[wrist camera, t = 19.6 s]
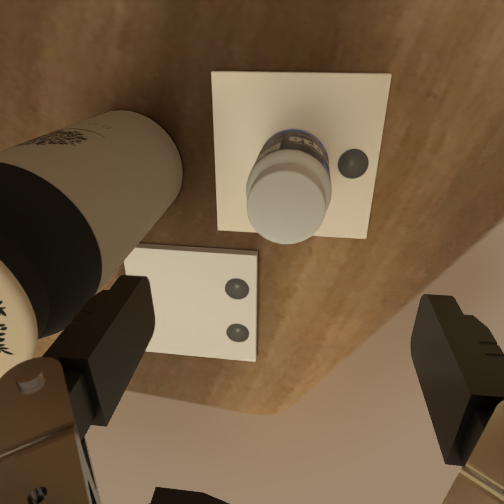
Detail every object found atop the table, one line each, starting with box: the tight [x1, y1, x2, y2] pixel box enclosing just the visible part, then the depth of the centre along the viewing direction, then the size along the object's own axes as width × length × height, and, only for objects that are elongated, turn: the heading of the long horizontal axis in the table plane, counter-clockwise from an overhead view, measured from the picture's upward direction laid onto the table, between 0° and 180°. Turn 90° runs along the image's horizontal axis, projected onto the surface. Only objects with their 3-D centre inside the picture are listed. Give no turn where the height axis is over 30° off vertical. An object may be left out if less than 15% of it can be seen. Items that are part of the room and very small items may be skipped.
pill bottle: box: [246, 128, 332, 244], centre depth 23 cm, size 5×5×8 cm
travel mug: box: [0, 110, 183, 378], centre depth 22 cm, size 8×8×18 cm
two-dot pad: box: [124, 243, 258, 362], centre depth 34 cm, size 11×11×1 cm
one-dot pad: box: [211, 71, 392, 239], centre depth 27 cm, size 11×11×1 cm
